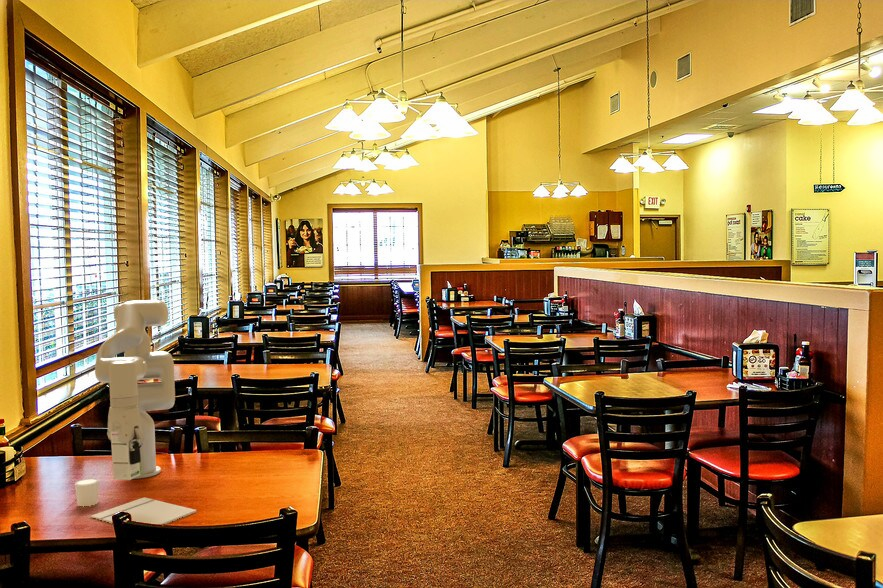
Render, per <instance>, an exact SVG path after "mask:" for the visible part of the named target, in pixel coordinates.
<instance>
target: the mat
mask: <svg viewBox="0 0 883 588" xmlns="http://www.w3.org/2000/svg"><path fill="white" fill-rule="evenodd" d="M120 511H125V512H128V513H130V514H131V516H132V521H136V522H144V523H151V524H165V525H168V524H170V523H172V521H173V522H175V521H177V519H178V520H180V519H183V518H186V517H188V516H189V515H192V514H196V513H197V509H193V508H190V507H187V506H182V505H177V504H173V503H169V502H164V501H161V500H156V499H154V498H148V497H146V496H144V497H141V498H138V499H135V500H131V501H129V502H126V503H124V504H120V505H118V506H115V507H113V508H109V509H106V510H103V511H100V512H97V513H94V514H92V515H90V518H91V517H92V518H91V519H93V518H96V519H95V520H97V519H99V520H98V521H100V520H102V521H101V522H104V521H106V522H105V523H107V522H109V523H108V524H112V515H113V514H115V513H117V512H120ZM182 517H183V518H182ZM179 518H180V519H179ZM112 525H113V524H112Z"/></svg>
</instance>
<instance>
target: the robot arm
mask: <svg viewBox="0 0 883 588" xmlns="http://www.w3.org/2000/svg"><path fill="white" fill-rule="evenodd" d="M113 316H114V320H115V323H116V324H115V333H114V334H112V335H111V336H110V337H108V338H107V339H106V340H105V341H104V342H103V343H102V344H101V345H100V347H99V348H98V350H97V353H96V358H95V364H94V365H95V366H94V373H95V378H96V379H97V381H98V382H100V383H102V384H103V383H104V384H105V383H106V384H108V383H109V401H110V403H109V405H110V406H109V409H108V416H107V432H106V435H107V437H108V440H109V442H110V443H111V432H112V431H118V433H119V434H118V441H120V442H123V443H128V442H129V447H130V449H131V451H129V458H130V464H131V465H132V464H136V463H139V462H140V452H141V471H142V474H141V475H139V476H137V477H135V478H133V479H132V480H135V479H136V480H137V479H145V478H151V477H154V476H156V475H158V474H160V473H161V471H162V469H161V467H160V466H158V465H157V458H156V436H155V435H156V433H155V432H156V431H155V422H154V420H153V418H152V417H151V415H150V414H148V412H150V411H163V410H169V409H171V408H173V407H174V405H175V401H176V388H175V386H176V385H175V383H176V382H175V364H174V358H173V356H172V354H171V353H169V351H152V348H151V347H152V346H151V345H152V344H151V343H152V342H151V340H152V339H151V336H150V335H149V334H148V333H147V331H146V330H145V327H162V326H166V324H167V322H168V320H169V309H168V305H167V304H166V303H165V302H164V301H162V300H157V299H146V300H142V299H139V300H128V301H125V302H123V303H120V304H117V305H115V307H114V309H113ZM121 353H124V356H117V355H118V354H121ZM114 356H115V357H114ZM116 356H117V357H116ZM143 380H160V382H152V383H151V382H145V383H138V381H143ZM133 438H134V440H132V439H133ZM133 442H135V444H134V445H133ZM110 446H111V448H112V445H110Z"/></svg>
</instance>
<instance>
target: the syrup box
mask: <svg viewBox="0 0 883 588" xmlns="http://www.w3.org/2000/svg"><path fill="white" fill-rule="evenodd" d="M118 434H119V433H118V431H112V432H111V442H110V443H111V445H112V447H111V459H112V461H111V463H112V477H113V480H118V481H131V480H134V479H133V478H135V477H137V476H139V475H141V474H142V471H141V452H140V462H139V463H136V464H132V465H131V464H130V458H129V451H131V449H130V447H129V442H128V443H123V442H120V441H118ZM132 440H134V438H133V439H132ZM134 444H135V442H133V445H134ZM111 445H110V446H111Z"/></svg>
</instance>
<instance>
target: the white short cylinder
mask: <svg viewBox="0 0 883 588" xmlns="http://www.w3.org/2000/svg"><path fill="white" fill-rule="evenodd" d="M99 486H100V479H99V478H85V479H81V480H78V481H76V482H74V490H75V495H76V496H75V497H76V503H77V507H79V506H83V507H82V508H85V507H84V506H89V507H92V506H91V505H93V506H96V505H97V504H98V503H99V489H100V487H99ZM95 504H96V505H95Z"/></svg>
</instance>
